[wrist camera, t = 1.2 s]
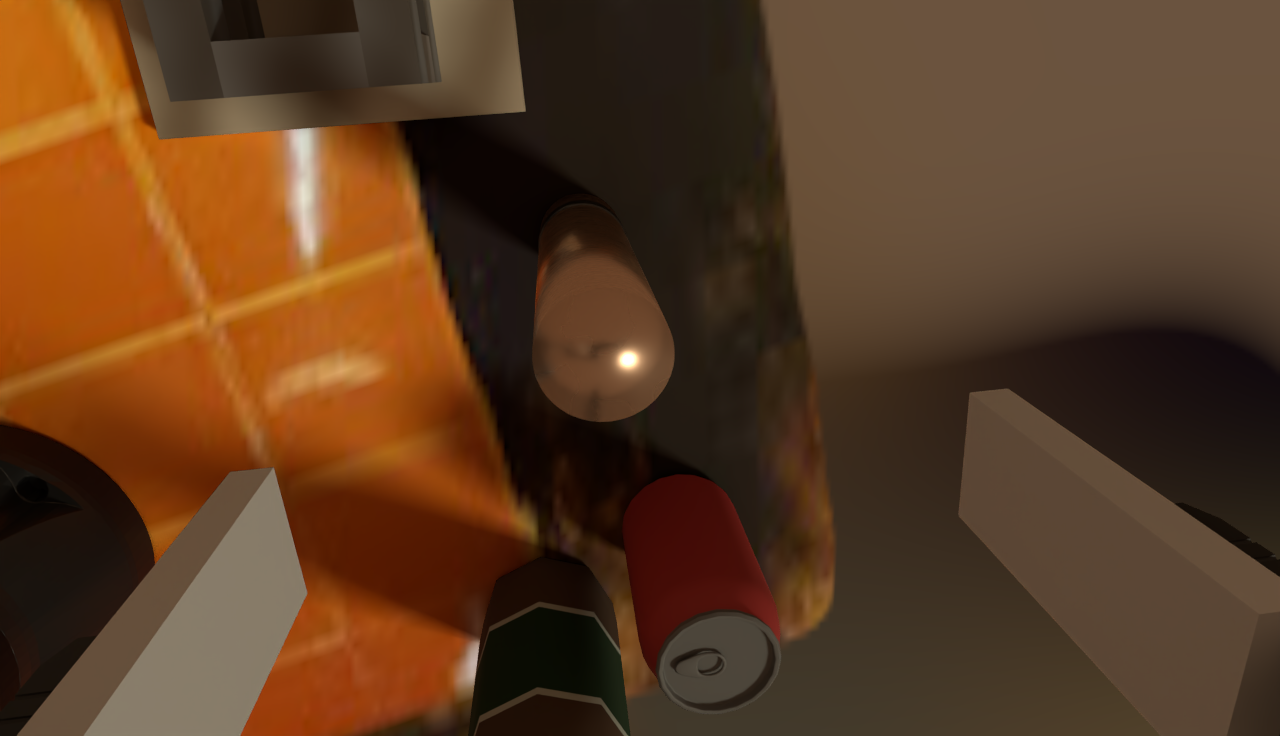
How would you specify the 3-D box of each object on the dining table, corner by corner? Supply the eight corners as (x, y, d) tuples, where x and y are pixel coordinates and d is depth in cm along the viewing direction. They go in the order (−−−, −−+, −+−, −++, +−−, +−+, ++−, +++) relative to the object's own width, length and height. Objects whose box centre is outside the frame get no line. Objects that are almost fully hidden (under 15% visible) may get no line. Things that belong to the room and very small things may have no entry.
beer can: (617, 474, 44) (640, 612, 32) (733, 463, 44) (795, 595, 33) (624, 573, 46) (647, 733, 35) (733, 561, 47) (791, 715, 35)
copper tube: (544, 278, 39) (539, 430, 22) (534, 195, 38) (521, 293, 21) (624, 270, 40) (679, 415, 23) (618, 188, 38) (672, 279, 21)
